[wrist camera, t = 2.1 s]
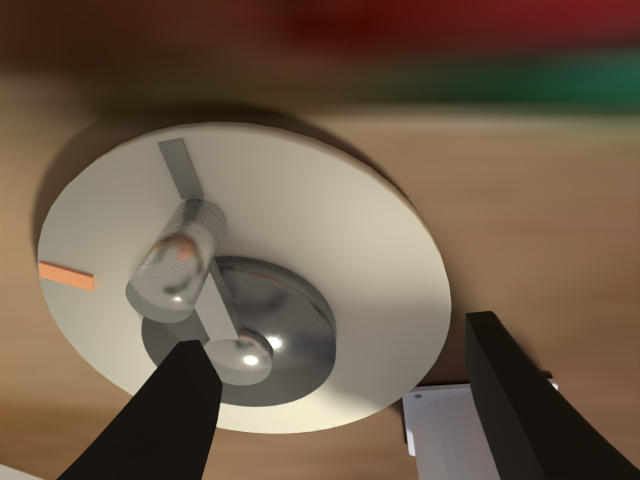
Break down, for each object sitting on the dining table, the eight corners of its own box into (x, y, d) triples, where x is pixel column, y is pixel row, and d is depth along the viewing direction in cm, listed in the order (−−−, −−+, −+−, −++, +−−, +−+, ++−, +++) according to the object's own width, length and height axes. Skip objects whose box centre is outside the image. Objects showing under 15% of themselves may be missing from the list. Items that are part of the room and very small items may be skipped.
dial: (348, 379, 25) (349, 464, 21) (191, 389, 26) (163, 471, 22) (303, 183, 17) (290, 256, 13) (87, 213, 19) (15, 288, 15)
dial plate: (444, 79, 16) (451, 89, 15) (448, 408, 28) (452, 428, 27) (-42, 162, 19) (-67, 175, 18) (152, 425, 32) (144, 443, 30)
